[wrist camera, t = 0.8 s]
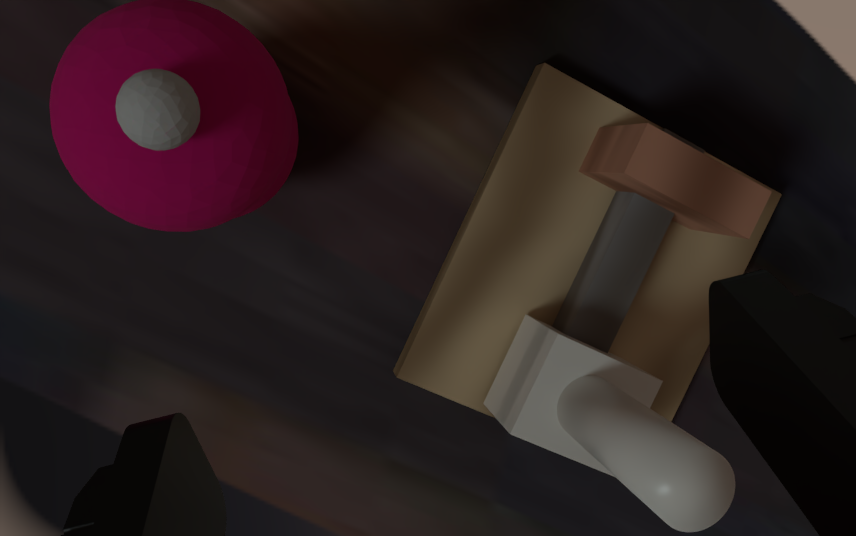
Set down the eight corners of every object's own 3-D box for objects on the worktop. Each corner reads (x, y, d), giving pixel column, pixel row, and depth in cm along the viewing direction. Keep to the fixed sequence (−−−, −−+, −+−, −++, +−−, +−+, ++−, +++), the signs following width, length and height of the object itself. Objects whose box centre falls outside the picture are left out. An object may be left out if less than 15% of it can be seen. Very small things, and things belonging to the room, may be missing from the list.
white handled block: (483, 403, 38) (593, 529, 25) (525, 314, 38) (658, 394, 25) (578, 443, 40) (730, 581, 27) (620, 357, 39) (793, 454, 26)
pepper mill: (149, 39, 34) (-7, -121, 15) (308, 78, 36) (356, -20, 16) (121, 196, 35) (-64, 241, 15) (278, 227, 36) (290, 304, 17)
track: (392, 370, 39) (415, 409, 33) (536, 65, 38) (586, 47, 32) (633, 470, 42) (693, 521, 36) (767, 193, 42) (852, 199, 35)
